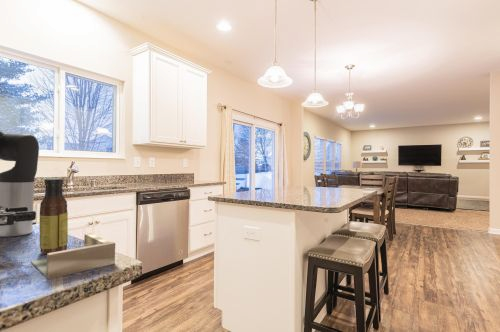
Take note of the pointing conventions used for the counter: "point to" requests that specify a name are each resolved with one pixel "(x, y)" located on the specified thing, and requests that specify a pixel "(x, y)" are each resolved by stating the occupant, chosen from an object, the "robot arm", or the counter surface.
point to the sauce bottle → (53, 218)
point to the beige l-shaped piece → (78, 258)
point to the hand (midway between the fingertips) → (31, 213)
